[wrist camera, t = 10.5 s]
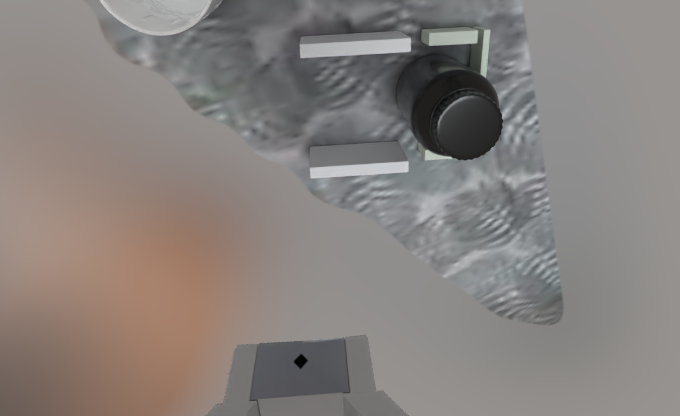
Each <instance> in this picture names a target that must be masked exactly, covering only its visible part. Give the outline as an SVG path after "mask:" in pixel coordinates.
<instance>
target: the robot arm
mask: <svg viewBox="0 0 680 416" xmlns="http://www.w3.org/2000/svg"><path fill="white" fill-rule="evenodd" d="M205 416H408V415H407V414H406V413H405V412H404V411H403V410H402V409H401V408H400V407H399V406H398V405H397V404H396V403H395V402H394V401H393V400H392V399H391V398H390V397H389V396H388V395H387V394H386V393H385V392H384V391H376V387H375V381H374V374H373V368H372V362H371V357H370V350H369V344H368V338H367V336H366V335H361V336H350V337H345V340H344V337H343V338H332V339H331V338H330V339H319V340H307V341H294V342H275V343H260V344H247V345H237V346H236V348H235V350H234V353H233V358H232V363H231V368H230V372H229V378H228V382H227V387H226V391H225V396H224V401H223V403H221V404H216V405H215V406H214V407H213V408H212V409H211V410H210V411H209V412H208V413H207V414H206V415H205Z"/></svg>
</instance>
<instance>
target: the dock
mask: <svg viewBox="0 0 680 416" xmlns="http://www.w3.org/2000/svg"><path fill="white" fill-rule="evenodd" d="M489 39H490V29H487V28H483V27H479V26H473V29H472V28H469V27H456V28H439V29H422V31H421V42H423V43H424V44H426V45H428V46H439V45H456V44H471V55H470V68H471V69H473V70H474V71H476V72H478V73H480V74H481V75H483V76H484V77H485V78H486V71H487V60H488V50H489ZM418 150H419V152H420V154H421V155H422V157H423V158H424V160H438V159H453V158H452V157H446V156H440V155H437V154H434V153H432V152H430V151H428V150H427V149H426V148H424V147H423V146H422V145H421V144H420V143H419V141H418Z"/></svg>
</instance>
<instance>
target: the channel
mask: <svg viewBox="0 0 680 416" xmlns="http://www.w3.org/2000/svg"><path fill="white" fill-rule="evenodd" d="M299 45H300V57H301V58H315V57H332V56H348V55H365V54H382V53H399V52H411V38H410V37H408V36H407V35H405V34H403V33H402V32H400V31H387V32H370V33H352V34H335V35H318V36H301V39H300V44H299ZM408 163H409V161H408V159H407V157H406V156H405V154H404V152H403V150H402V148H401V146H400V144H399V142H398V141H391V142H375V143H360V144H344V145H329V146H313V147H310V176H311V178H326V177H341V176H356V175H371V174H386V173H401V172H408Z"/></svg>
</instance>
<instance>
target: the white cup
mask: <svg viewBox="0 0 680 416" xmlns="http://www.w3.org/2000/svg"><path fill="white" fill-rule="evenodd" d="M99 1H100V2H101V3H102V5H103V6H104V7H105V8H106V9H107V10H108V11H109V12H110V13H111V14H112V15H113V16H114V17H115V18H116V19H118V20H119V21H120V22H122V23H123V24H125V25H127V26H128V27H130V28H132V29H134V30H137V31H139V32H142V33H145V34H150V35H158V36H165V35H173V34H177V33H180V32H183V31H185V30H187V29H189V28H190V27H192V26H193V25H195V24H197V23H198V22H200V21H202V20H203V19H205V18H206V17H207V16H208V15H210V14H211V13H212V12H213V11H214V10H215V9H216V8H217V7H219V5H220V4H221V2H222V1H223V0H99Z"/></svg>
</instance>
